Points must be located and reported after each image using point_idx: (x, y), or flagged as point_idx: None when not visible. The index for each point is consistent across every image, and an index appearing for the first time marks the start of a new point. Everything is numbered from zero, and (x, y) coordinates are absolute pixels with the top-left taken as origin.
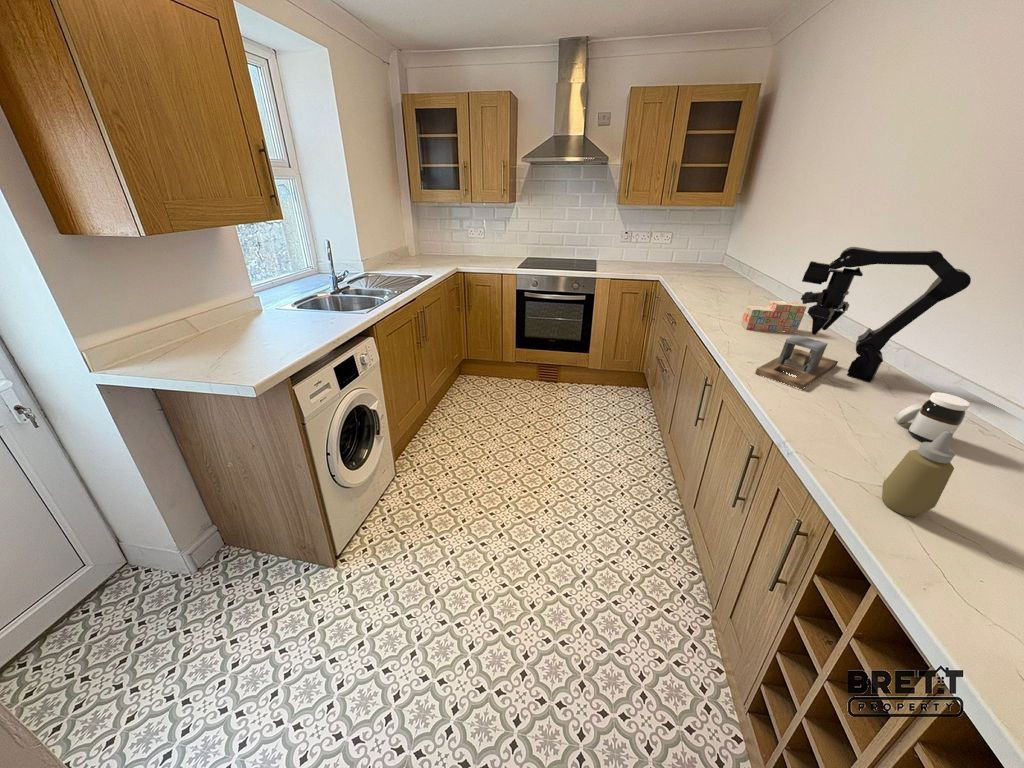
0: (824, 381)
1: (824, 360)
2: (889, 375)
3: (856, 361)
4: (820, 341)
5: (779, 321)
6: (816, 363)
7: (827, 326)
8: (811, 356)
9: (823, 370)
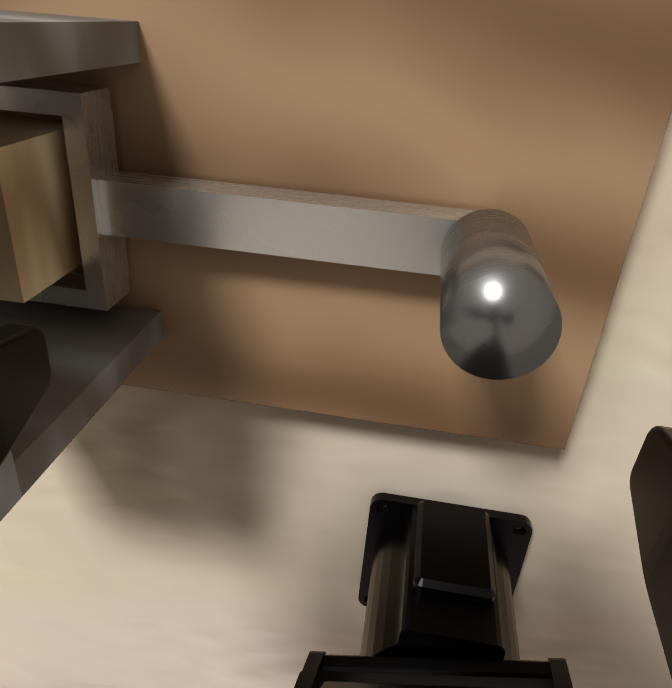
0: None
1: None
2: (655, 681)
3: (401, 610)
4: (530, 350)
5: None
6: None
7: (657, 566)
8: (337, 258)
9: (162, 384)
